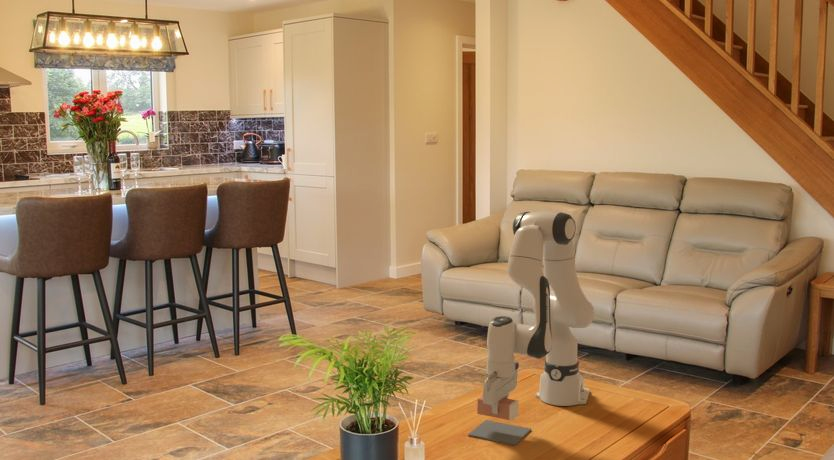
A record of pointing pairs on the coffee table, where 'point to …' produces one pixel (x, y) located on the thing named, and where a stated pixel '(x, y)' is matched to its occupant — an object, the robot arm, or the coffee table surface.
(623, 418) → the coffee table surface
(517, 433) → the slate mat
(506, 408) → the tall block
